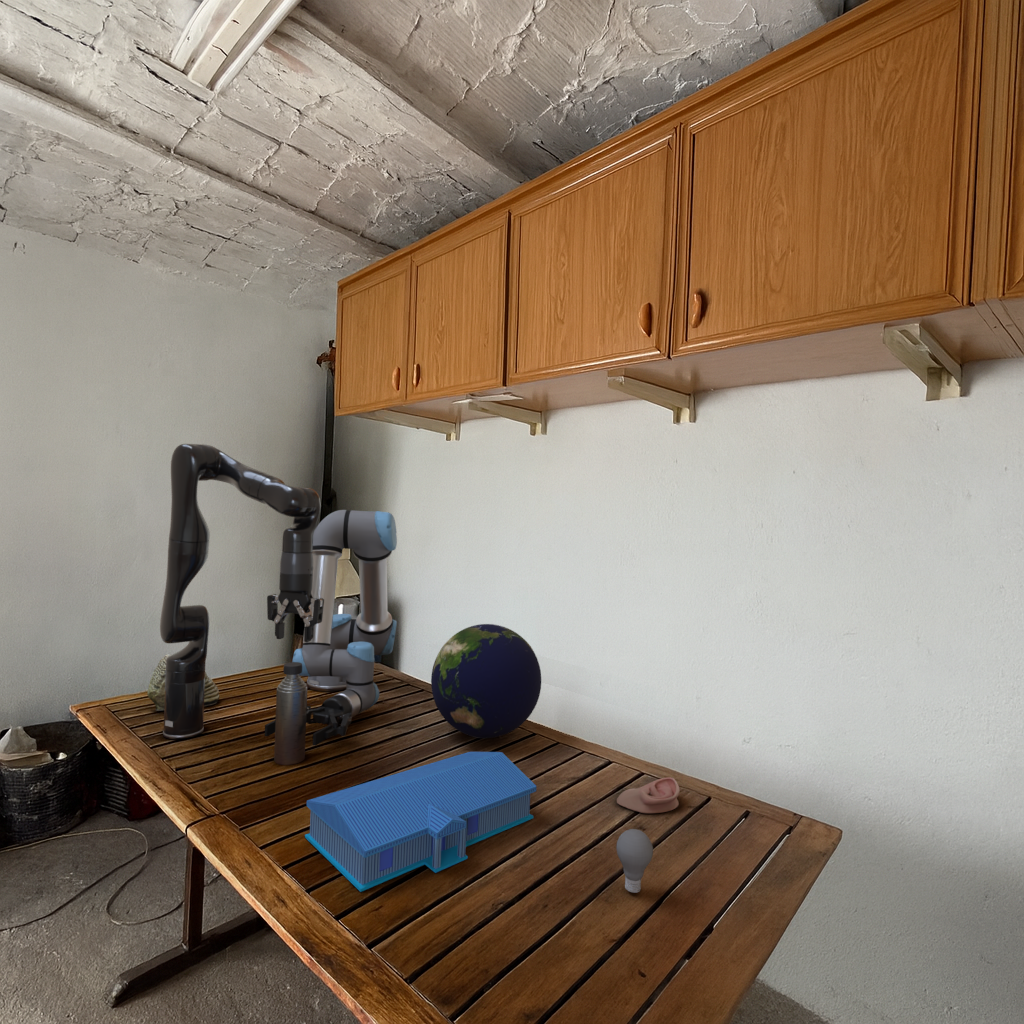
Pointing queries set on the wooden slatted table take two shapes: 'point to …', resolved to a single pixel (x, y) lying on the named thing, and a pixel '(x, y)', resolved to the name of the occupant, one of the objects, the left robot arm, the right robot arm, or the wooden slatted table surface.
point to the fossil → (158, 687)
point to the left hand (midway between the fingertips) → (294, 639)
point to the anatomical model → (652, 796)
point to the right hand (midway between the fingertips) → (289, 735)
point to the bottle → (290, 721)
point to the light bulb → (634, 857)
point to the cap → (292, 668)
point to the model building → (419, 816)
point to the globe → (486, 681)
